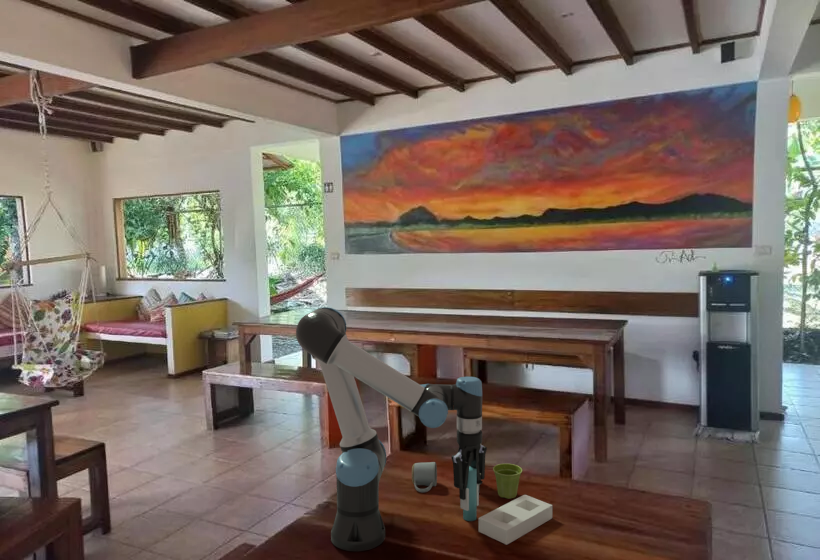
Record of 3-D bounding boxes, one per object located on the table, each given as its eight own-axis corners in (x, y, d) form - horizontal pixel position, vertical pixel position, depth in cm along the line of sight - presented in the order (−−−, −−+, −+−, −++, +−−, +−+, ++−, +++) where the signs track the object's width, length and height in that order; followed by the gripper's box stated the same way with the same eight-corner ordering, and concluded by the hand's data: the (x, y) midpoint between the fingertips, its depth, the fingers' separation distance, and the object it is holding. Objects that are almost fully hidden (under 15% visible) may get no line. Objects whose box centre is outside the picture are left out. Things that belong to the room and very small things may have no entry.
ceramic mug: (413, 479, 201) (413, 458, 200) (437, 480, 200) (437, 458, 199) (410, 493, 190) (410, 470, 189) (435, 494, 189) (434, 471, 189)
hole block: (478, 531, 164) (478, 517, 164) (524, 506, 179) (524, 494, 179) (506, 544, 157) (506, 530, 157) (552, 518, 172) (552, 505, 172)
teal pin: (460, 517, 172) (460, 469, 171) (469, 513, 175) (469, 465, 174) (470, 522, 169) (470, 472, 168) (479, 518, 172) (479, 469, 171)
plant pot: (527, 498, 185) (527, 472, 185) (502, 503, 182) (502, 476, 181) (512, 486, 194) (512, 461, 193) (487, 491, 190) (487, 466, 190)
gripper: (459, 439, 162) (459, 520, 164) (497, 426, 173) (497, 501, 175) (440, 433, 167) (440, 511, 169) (478, 420, 179) (478, 494, 180)
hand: (469, 506), depth 172 cm, fingers closed on teal pin, 4 cm apart
